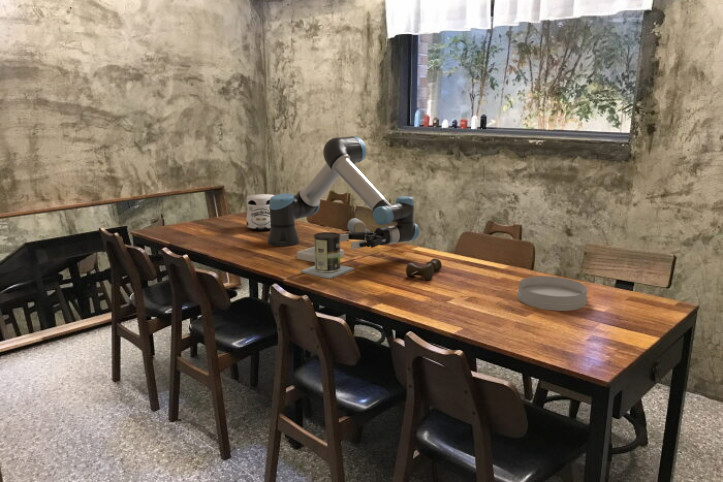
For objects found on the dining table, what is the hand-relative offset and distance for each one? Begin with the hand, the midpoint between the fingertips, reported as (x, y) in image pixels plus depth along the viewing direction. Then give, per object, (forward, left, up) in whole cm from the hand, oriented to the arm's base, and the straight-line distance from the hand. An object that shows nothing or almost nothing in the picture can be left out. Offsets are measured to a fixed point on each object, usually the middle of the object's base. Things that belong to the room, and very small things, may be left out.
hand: (342, 242), depth 220 cm
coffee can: (-3, -7, -10) cm, 13 cm away
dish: (+80, +12, -11) cm, 82 cm away
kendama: (+32, +11, -11) cm, 35 cm away
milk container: (-85, +34, -11) cm, 92 cm away
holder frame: (-19, +7, -11) cm, 23 cm away
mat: (-3, -7, -11) cm, 13 cm away
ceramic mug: (-35, +56, -11) cm, 66 cm away
